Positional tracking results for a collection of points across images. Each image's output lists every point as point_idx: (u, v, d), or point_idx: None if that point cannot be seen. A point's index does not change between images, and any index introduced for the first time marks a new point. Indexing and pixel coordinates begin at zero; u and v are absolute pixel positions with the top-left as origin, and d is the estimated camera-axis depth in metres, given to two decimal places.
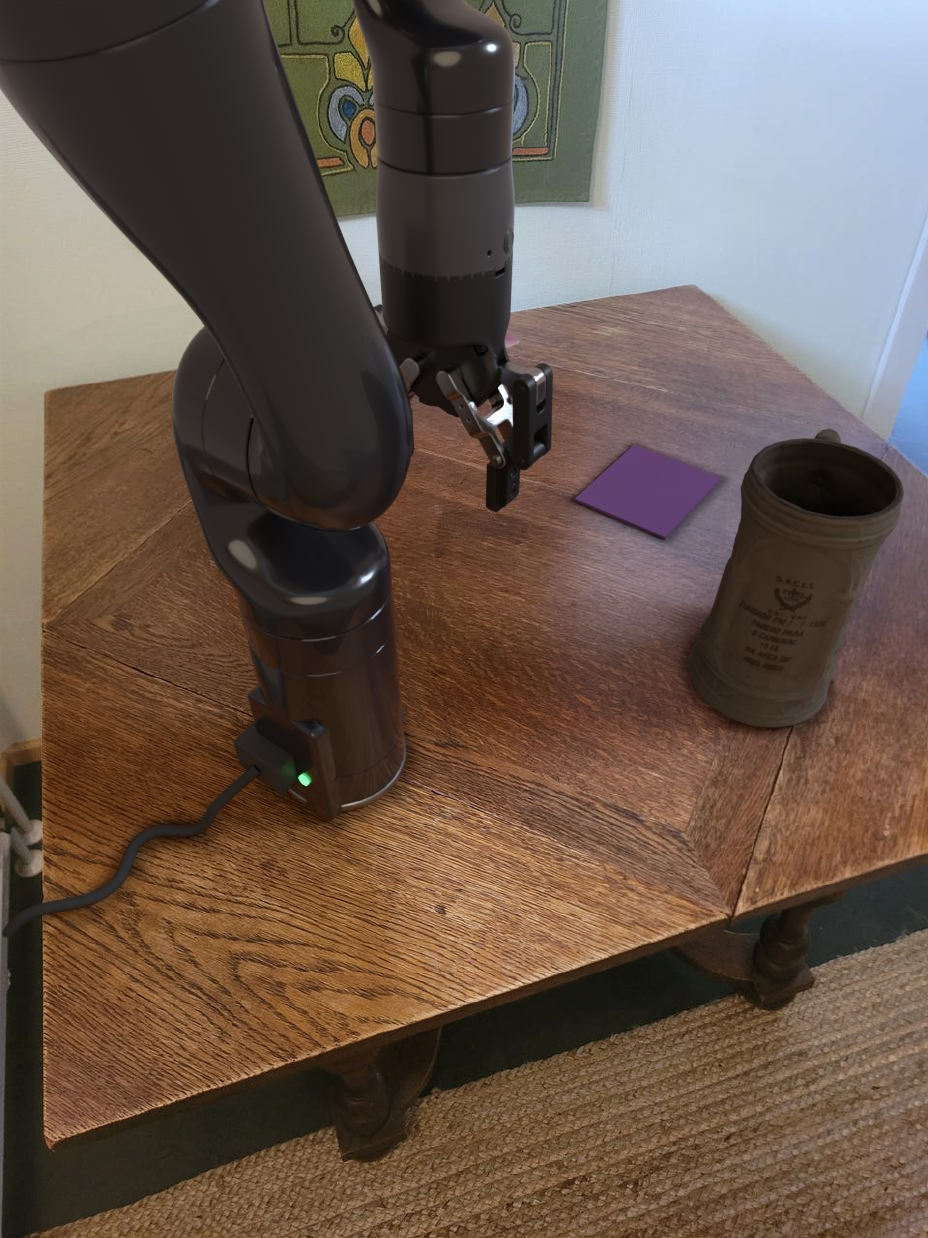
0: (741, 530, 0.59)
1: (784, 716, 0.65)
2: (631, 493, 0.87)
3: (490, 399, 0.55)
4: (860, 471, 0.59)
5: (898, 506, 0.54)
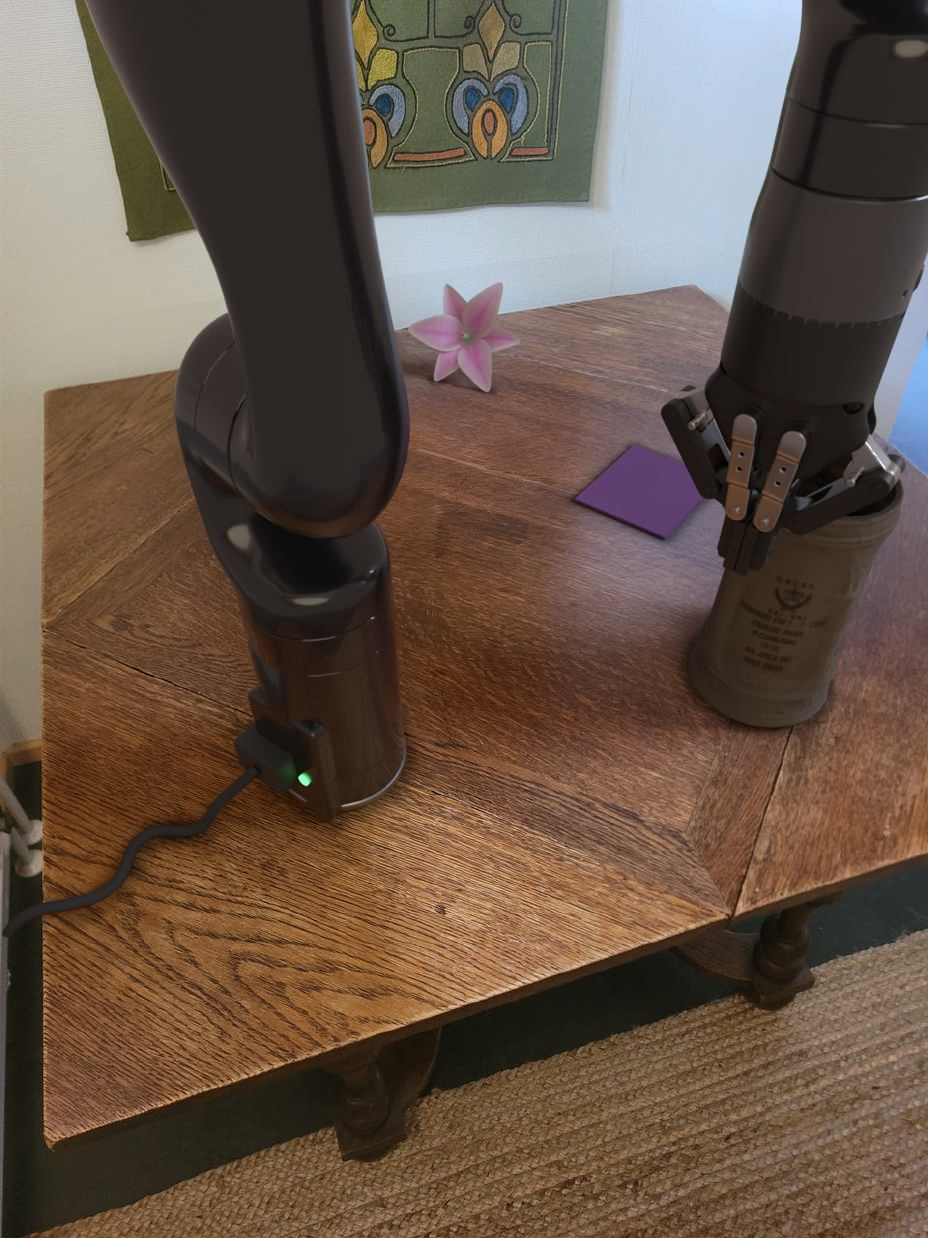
0: None
1: (784, 716, 0.65)
2: (631, 493, 0.87)
3: None
4: None
5: (898, 506, 0.54)
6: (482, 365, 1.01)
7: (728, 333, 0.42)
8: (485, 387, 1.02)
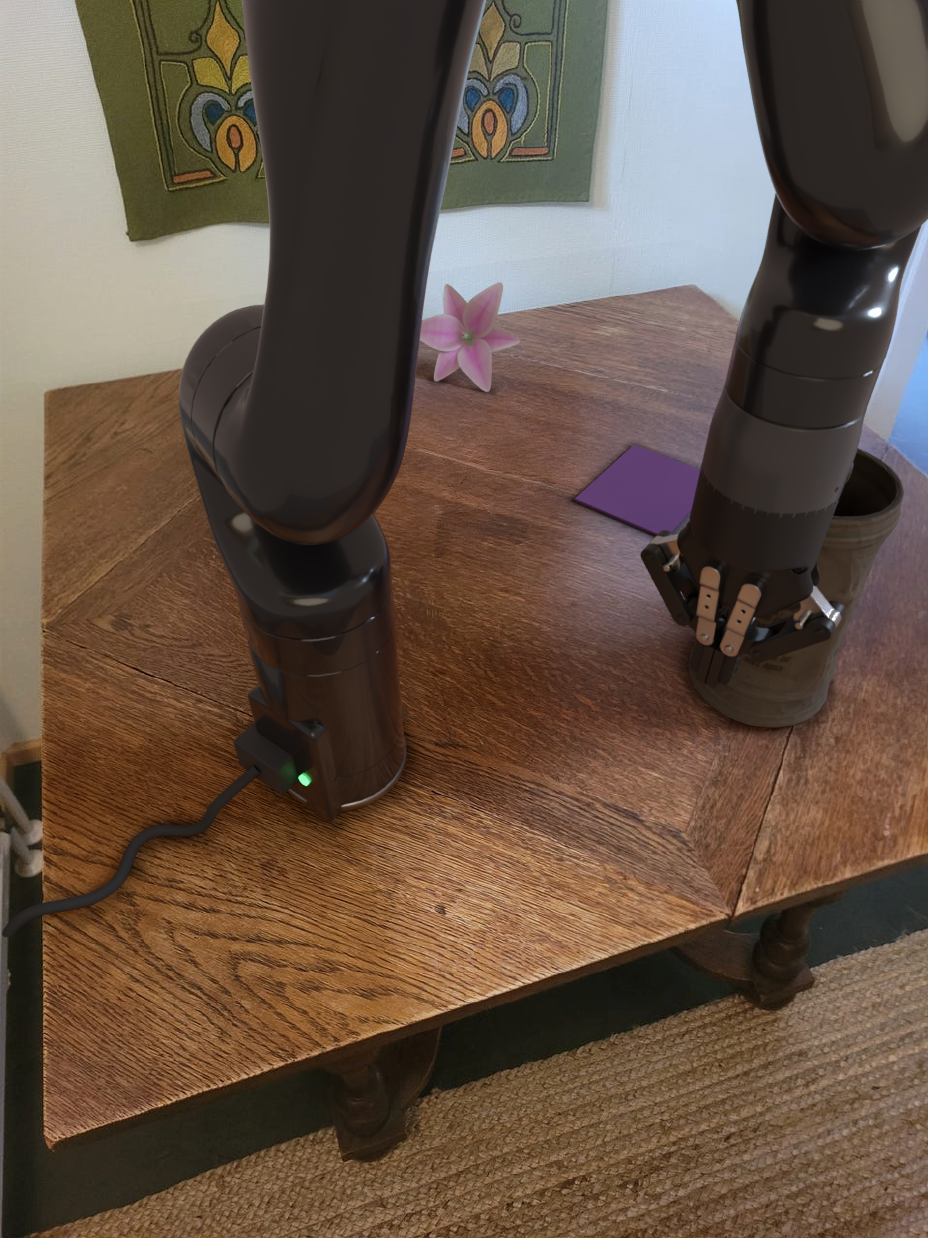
0: None
1: (784, 716, 0.65)
2: (631, 493, 0.87)
3: None
4: (860, 471, 0.59)
5: (898, 506, 0.54)
6: (482, 365, 1.01)
7: (694, 505, 0.50)
8: (485, 387, 1.02)
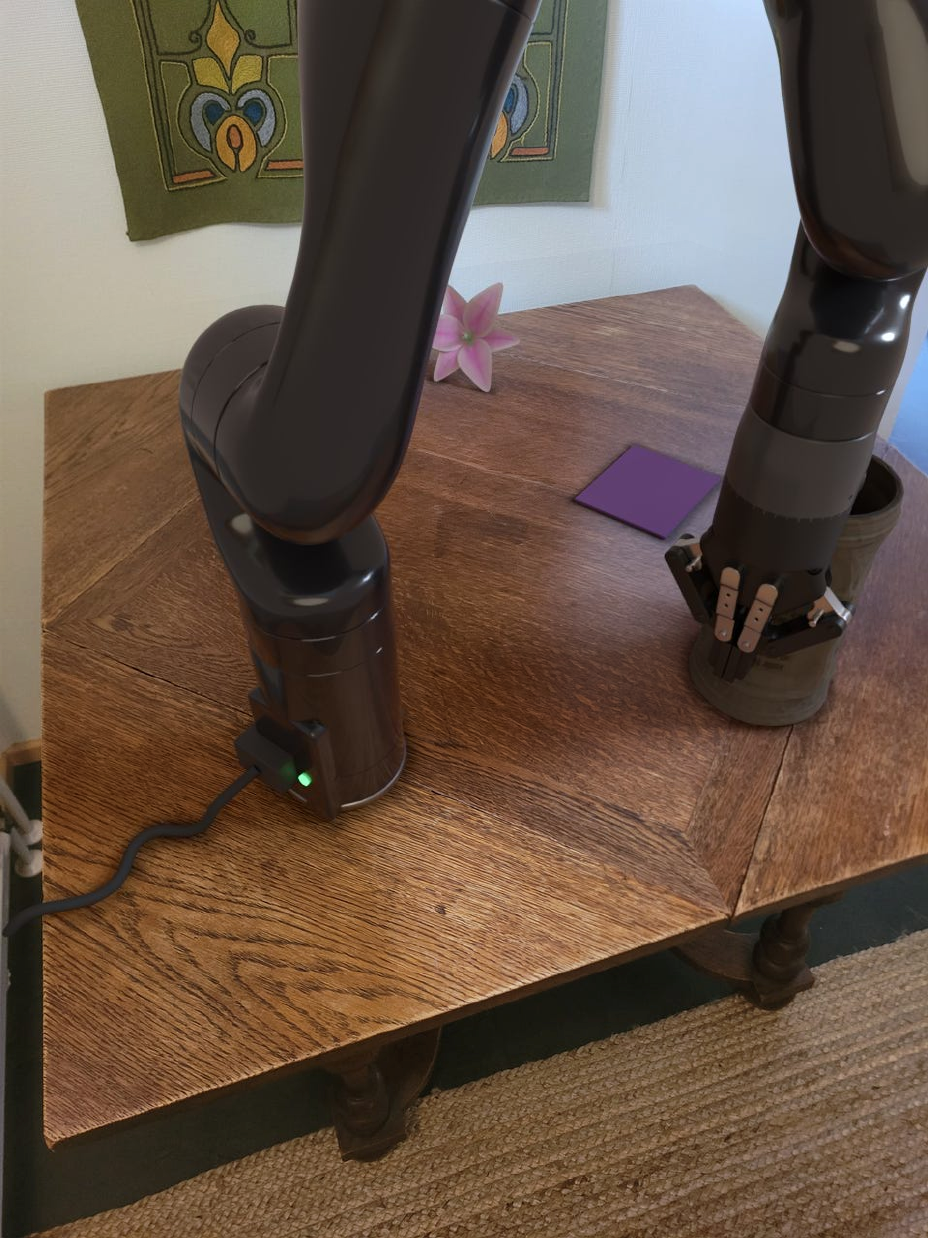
0: None
1: (784, 715, 0.65)
2: (631, 493, 0.87)
3: None
4: None
5: (898, 505, 0.55)
6: (482, 365, 1.01)
7: (718, 510, 0.54)
8: (485, 387, 1.02)
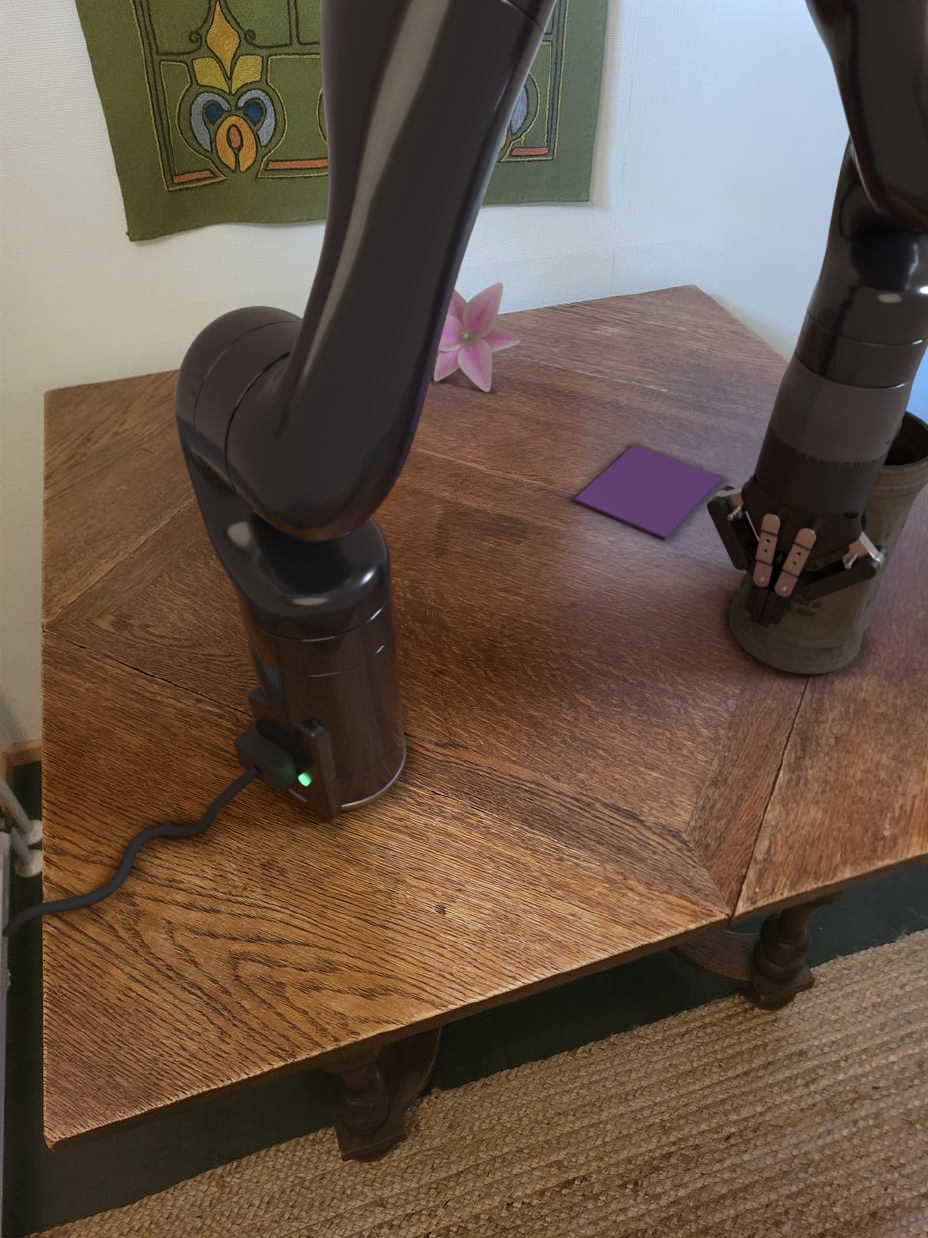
0: None
1: (814, 663, 0.69)
2: (631, 493, 0.87)
3: None
4: (903, 431, 0.63)
5: None
6: (482, 365, 1.01)
7: (761, 458, 0.58)
8: (485, 387, 1.02)
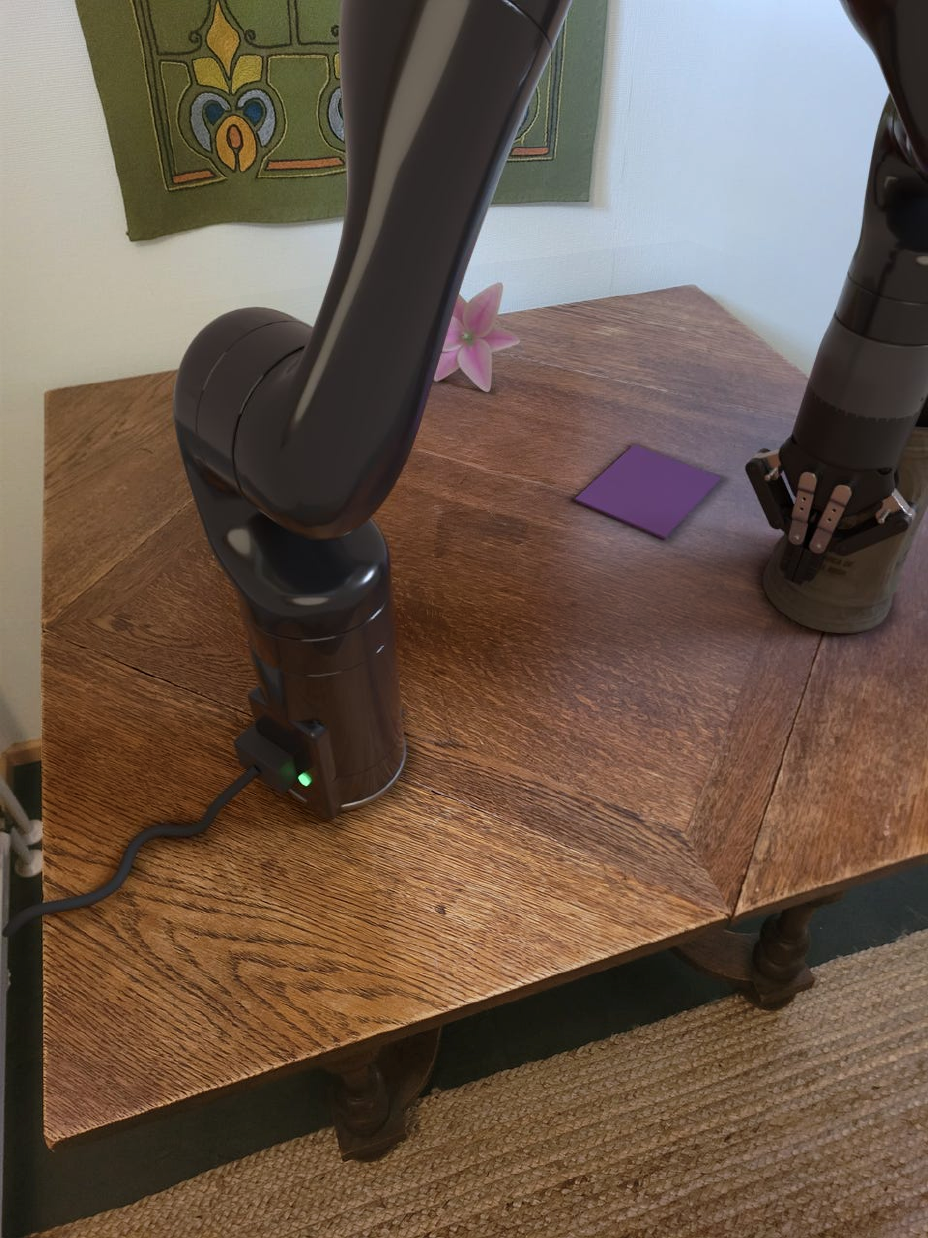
0: None
1: (844, 622, 0.72)
2: (631, 493, 0.87)
3: None
4: None
5: None
6: (482, 365, 1.01)
7: (800, 418, 0.61)
8: (485, 387, 1.02)
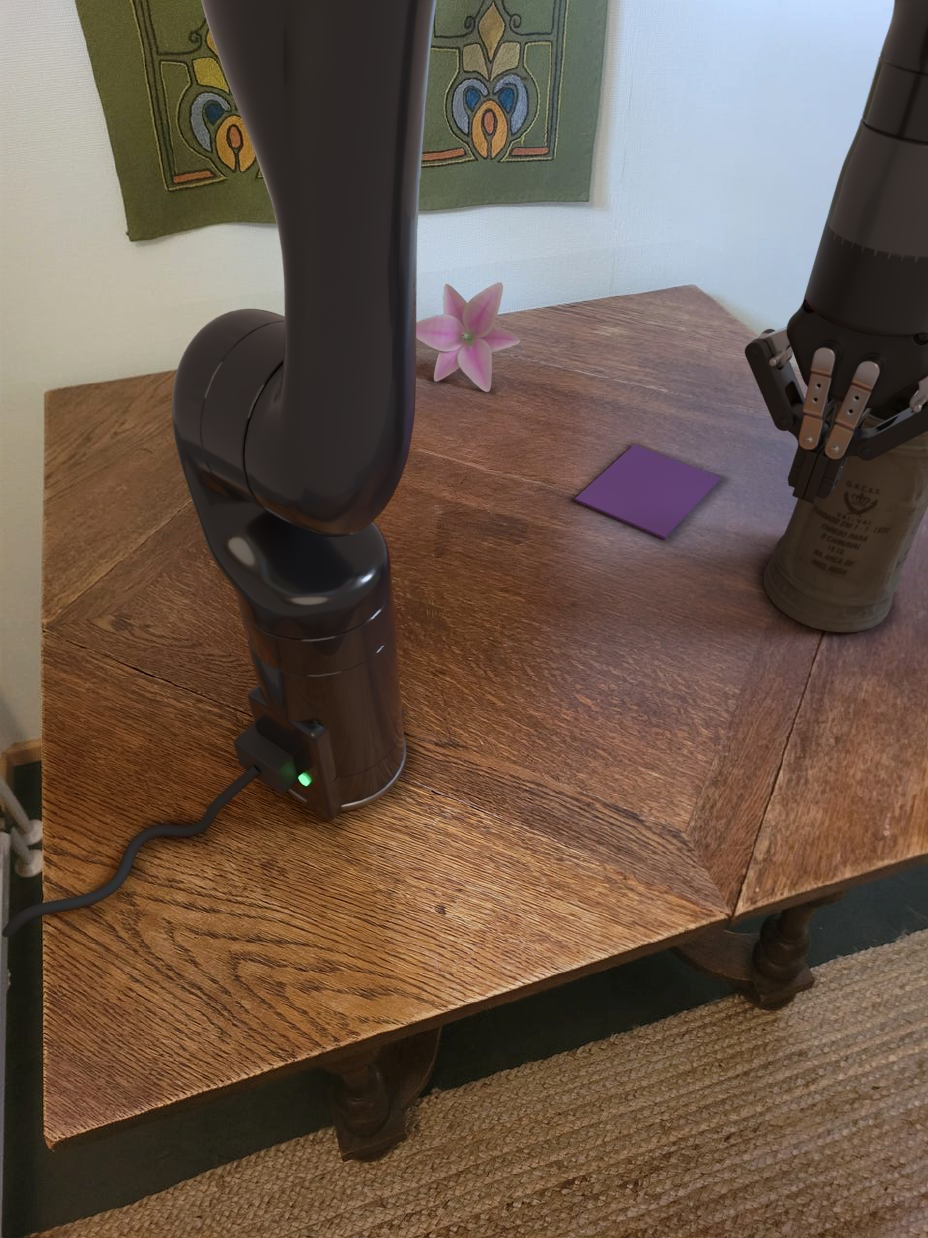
0: None
1: (844, 621, 0.73)
2: (631, 493, 0.87)
3: None
4: None
5: None
6: (482, 365, 1.01)
7: (815, 273, 0.48)
8: (485, 387, 1.02)
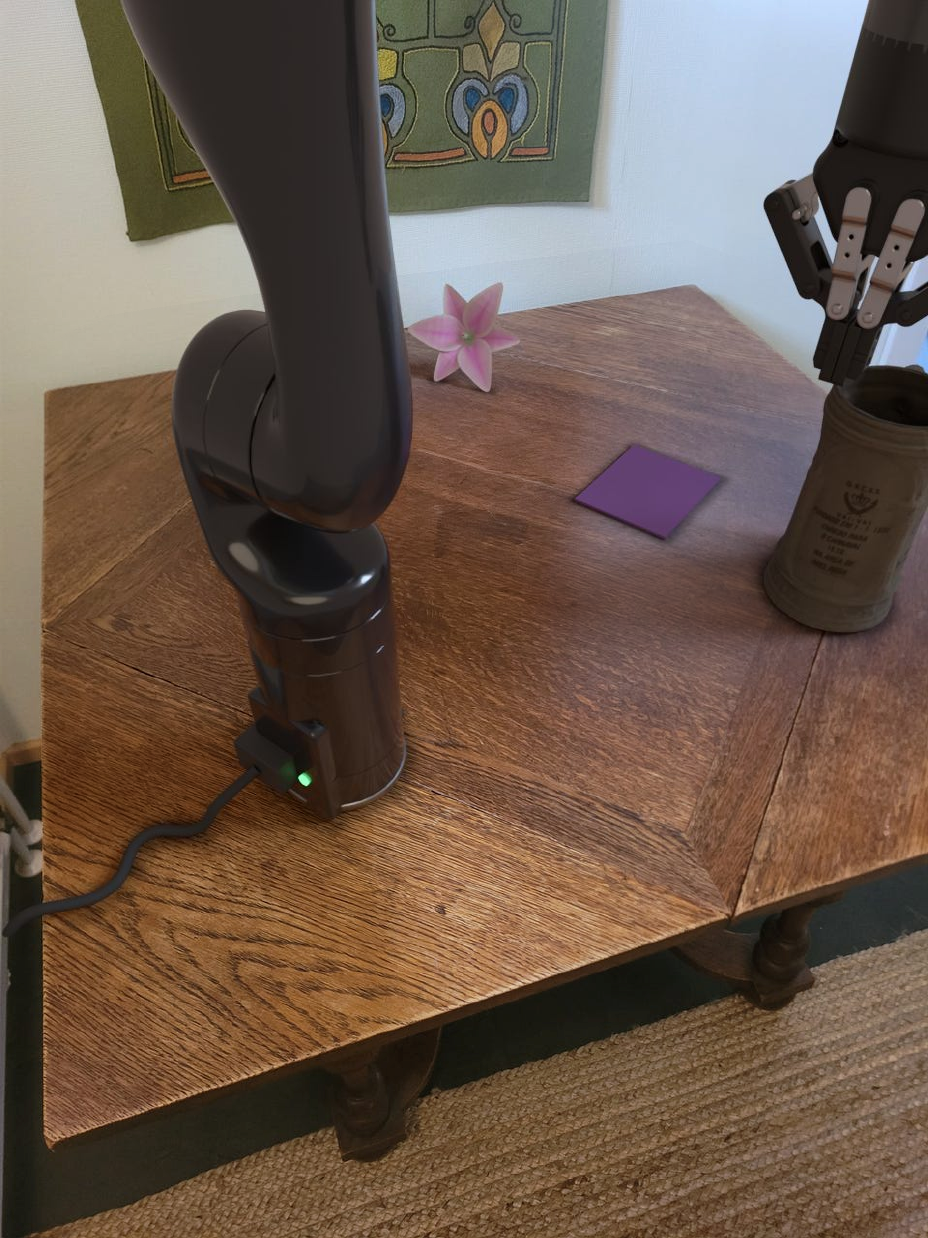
0: (820, 440, 0.66)
1: (845, 621, 0.73)
2: (631, 493, 0.87)
3: None
4: None
5: None
6: (482, 365, 1.01)
7: (848, 91, 0.40)
8: (485, 387, 1.02)
